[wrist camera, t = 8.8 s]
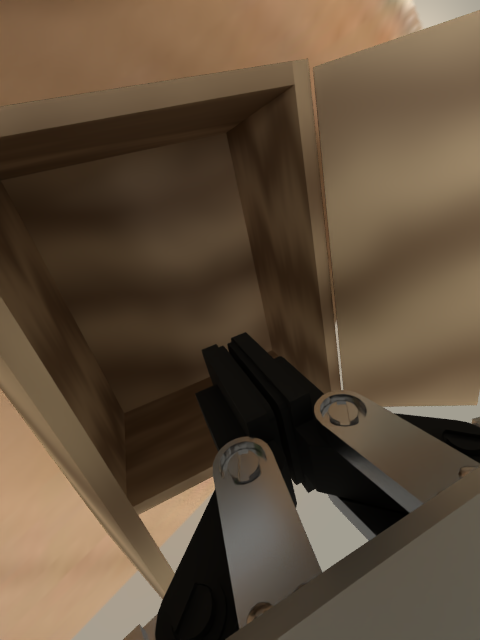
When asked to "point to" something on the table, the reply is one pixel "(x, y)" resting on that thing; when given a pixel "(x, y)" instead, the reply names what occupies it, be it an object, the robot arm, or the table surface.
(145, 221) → the carton
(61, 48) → the table surface
